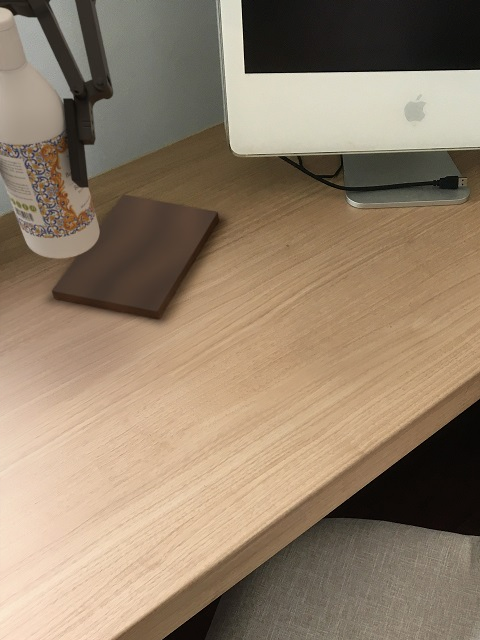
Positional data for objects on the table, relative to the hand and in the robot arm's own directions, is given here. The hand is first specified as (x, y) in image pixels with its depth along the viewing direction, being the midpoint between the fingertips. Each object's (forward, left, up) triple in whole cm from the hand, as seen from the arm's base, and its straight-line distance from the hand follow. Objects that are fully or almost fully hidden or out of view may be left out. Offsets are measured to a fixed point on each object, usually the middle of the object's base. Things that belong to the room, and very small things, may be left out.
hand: (33, 184), depth 68 cm
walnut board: (-3, +19, -22) cm, 29 cm away
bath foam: (-1, +3, -8) cm, 9 cm away
